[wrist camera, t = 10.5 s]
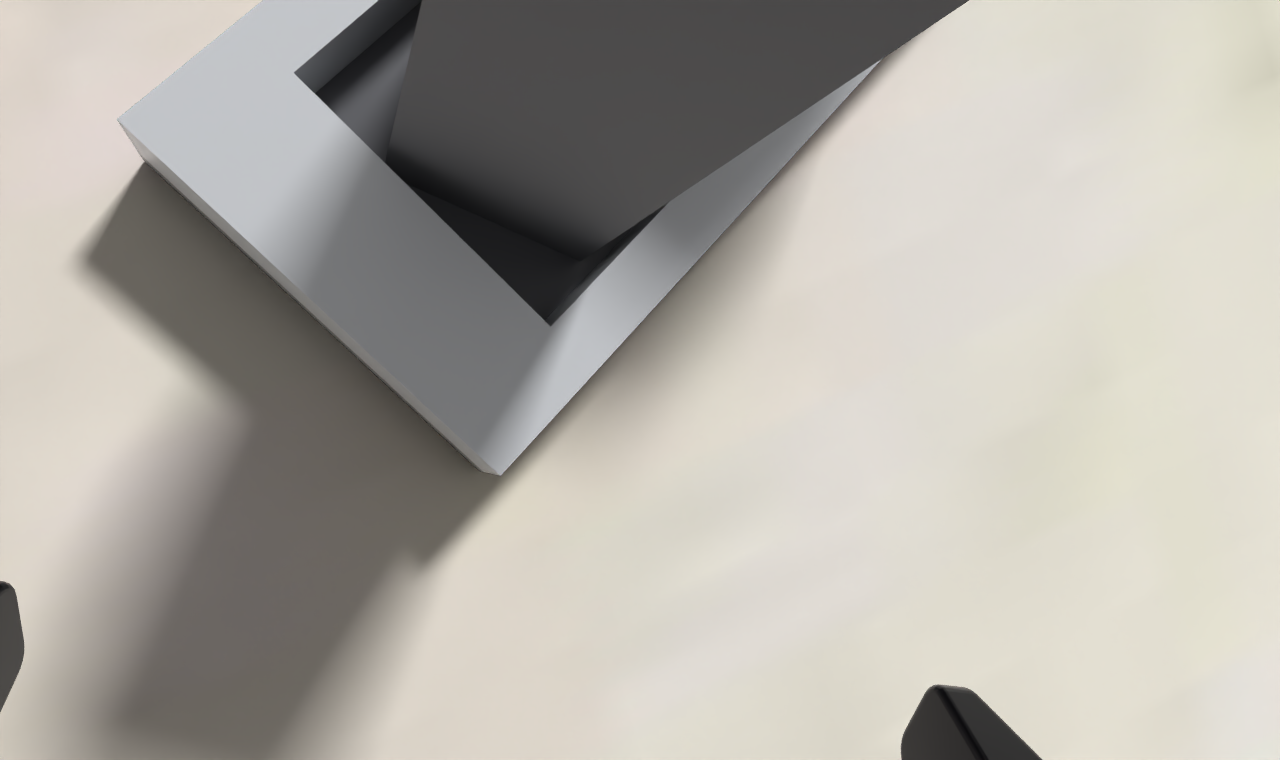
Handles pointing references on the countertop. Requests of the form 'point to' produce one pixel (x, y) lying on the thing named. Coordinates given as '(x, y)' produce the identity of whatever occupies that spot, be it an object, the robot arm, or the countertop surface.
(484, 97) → the orange grey tall block
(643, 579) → the countertop surface
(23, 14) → the countertop surface
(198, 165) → the light grey recessed block
